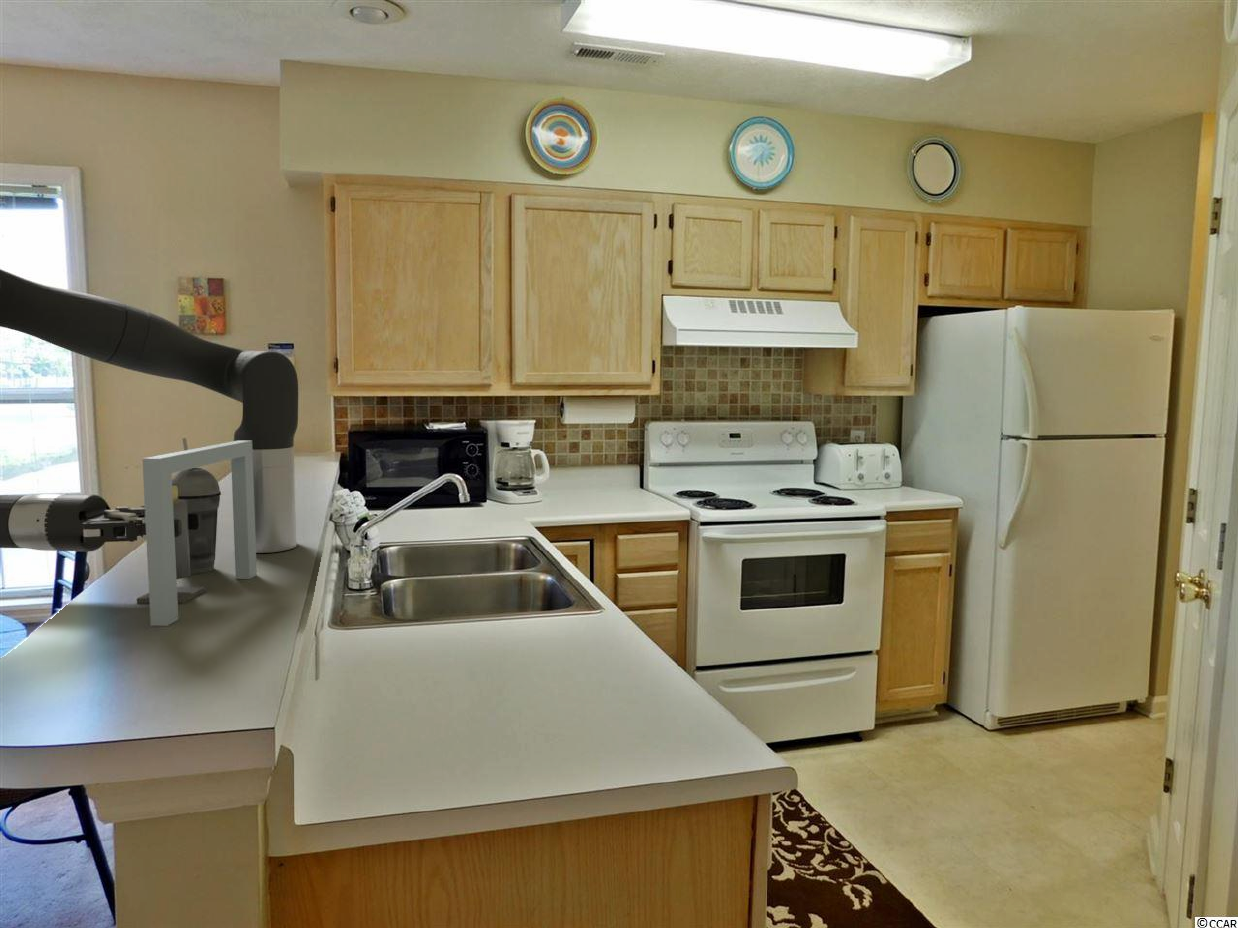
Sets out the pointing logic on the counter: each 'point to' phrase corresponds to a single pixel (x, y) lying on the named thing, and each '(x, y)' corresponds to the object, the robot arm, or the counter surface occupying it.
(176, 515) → the bottle
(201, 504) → the beverage cup
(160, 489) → the rectangular arch frame
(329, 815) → the counter surface
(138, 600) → the mat
